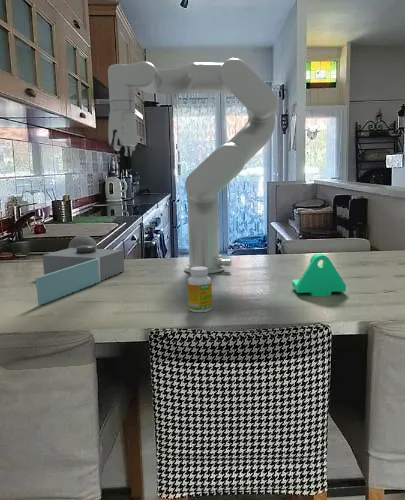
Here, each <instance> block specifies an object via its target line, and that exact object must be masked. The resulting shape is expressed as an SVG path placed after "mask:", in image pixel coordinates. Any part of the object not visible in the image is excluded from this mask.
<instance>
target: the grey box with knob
mask: <svg viewBox="0 0 405 500" xmlns="http://www.w3.org/2000/svg"><path fill="white" fill-rule="evenodd" d="M96 258H99V261H100V276H101V280H102V279H104V278H107V277H110V276H112V275H115V274H117V273H120V272H122V273H124V272H125V260H124V250H123V249H110V248H109V249H108V248H107V249H106V248H105V249H104V248H97V249H96V246H94V245H84V246H78V247H76V248H65V249H62V250H57V251H54V252H50V253H46V254H42V265H43V267H42V268H43V275H46V274H49V273H52V272H55V271H59V270H62V269H65V268H68V267H71V266H75V265H78V264H81V263H84V262H87V261H90V260H94V259H96ZM123 271H124V272H123ZM120 274H121V273H120ZM117 275H118V274H117ZM115 276H116V275H115ZM112 277H113V276H112ZM110 278H111V277H110ZM107 279H108V278H107ZM102 281H103V280H102Z"/></svg>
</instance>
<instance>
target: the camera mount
mask: <svg viewBox="0 0 405 500" xmlns="http://www.w3.org/2000/svg"><path fill="white" fill-rule="evenodd" d="M320 261H322V263H321V265H318V264H319V262H320ZM291 283H292V284H291V287H292V288H293V289H294V291H296V293H300V294H301V293H309V294H310V295H311V296H313V297H314V296H316V297H317V296H318V297H319V296H320V297H321V296H332V292H333V293H334V292H346V290H347V286H346V283H345V282H344V280H343V278H342V277H341V275H340V274H339V272H338V270H337V269H336V267H335V266H334V264H333V263H332V261H331V259H330V258H329V257H328V256H327V255H325V254H323V253H320V252H317V253H315V254H313V255H312V256H311V258H310V259H309V264H308V266H307V268H306V269H305V270H304V273H303V274H302V276H301V277H300V279H292V280H291Z"/></svg>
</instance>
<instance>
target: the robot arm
mask: <svg viewBox="0 0 405 500" xmlns="http://www.w3.org/2000/svg"><path fill="white" fill-rule="evenodd" d="M107 77H108V78H107V80H108V96H109V97H108V98H109V114H108V130H107V131H108V134H107V135H108V144H109V146H111V147H113V150H115V151H116V152H117V155H118V157H119V158H118V159H119V170H121V171H131V170H132V168H133V167H132V155H133V152H134V151H135V150H136V146H137V145H138V127H137V119H136V101H135V88H136V89H137V88H138V89H140V90H141V91H143V92H144V93H148V94H160V95H161V94H162V95H163V94H164V95H174V94H175V95H177V94H225V95H226V94H232V95H233V96H234V98H236V99H237V100H238V101H239V102H240V103H241V104H242V105H243V106H244V107H245V108H246V113H247V116H248V117H247V122H246V123H245V125H244V126H243V127H241V129H240V130H239V131H237V133H235V135H233V137H231V138H230V139H229V140H228V141H227V142H226V143H224V144H223V143H222V144H221V145H220V146H218V147H217V148H215V150H214V151H212V152H211V154H209V155H208V156H207V157H206V158H205V159H204V160H203V161H202V162H201V163H200V164H199V165H197V167H196V168H195V169H194V170H192V171H191V172H190V173H189V174H188V175H187V177H186V179H185V182H184V189H185V193H186V195H187V228H188V229H187V232H188V233H187V234H188V235H187V236H188V258H189V259H188V262H189V264H187V265H185V266H184V271H185V272H186V273H189V274H191V273H190V268H192V267H199V266H200V267H207V268H208V274H207V275H209V274H215V273H220V272H223V271H224V270H225V267H232V264H233V263H232V260H231V259H229V258H228V259H227V258H226V259H224V258H223V254H220V240H219V238H220V236H219V235H220V233H219V232H220V231H219V230H220V229H219V193H220V191H222V190H223V189H224V188H225V187H226V186H227V185H229V183H230V182H231V181H233V180H234V179H235V178H236V177H237V176H238V175H239V174H240V173H241V172H242V170H243V169H244V168H245V165H246V164H247V163H248V162H249V161H250V160H251V159H253V158H254V157H255V156H256V155H257V154H258V153H259V151H260V150H261V149H263V147H264V146H265V145H266V144H268V142H269V140H270V139H271V137H272V135H273V133H274V131H275V125H276V114H275V113H276V110H277V107H278V98H277V96H276V93H275V91H274V90H273V89H272V88H271V86H269V85H268V84H267V82H265V81H264V80H263V79H262V78H261V77H260V76H259V74H257V73H256V72H255V71H254V70H253V69H252V68H251V67H250V66H249V65H248V64H247V63H246V62H245V61H243V59H240V58H236V57H235V58H234V57H232V58H228V59H226V60H225V61H224V62H190V63H188V64H186V65H184V66H182V67H177V68H156V66H154V64H153V63H151V62H148V61H137V62H135V63H134V62H133V63H128V64H126V63H125V64H124V63H115V64H111V65H110V66H109V67H108V69H107Z"/></svg>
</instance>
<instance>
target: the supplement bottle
mask: <svg viewBox="0 0 405 500" xmlns="http://www.w3.org/2000/svg"><path fill="white" fill-rule="evenodd" d="M189 274H190V275H191V276H190V277H188V279H187V296H188V297H187V299H188V300H187V301H188V302H187V304H188V310H189V311H190V312H192V313H207V312H210V311H211V310H212V309H213V299H212V297H213V296H212V294H213V293H212V292H213V291H212V290H213V289H212V278H211V277H210V276H208V275H209V274H208V268H207V267H200V266H199V267H192V268H190V273H189Z"/></svg>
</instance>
